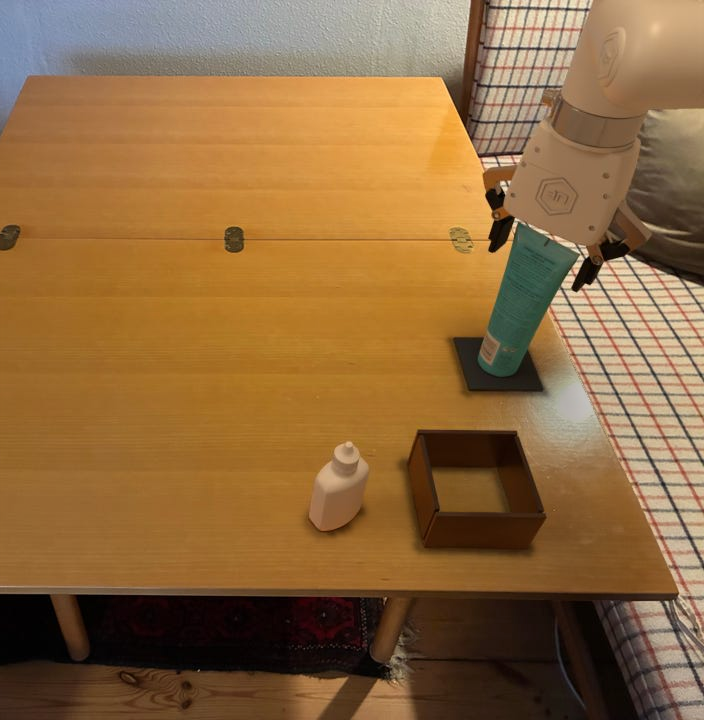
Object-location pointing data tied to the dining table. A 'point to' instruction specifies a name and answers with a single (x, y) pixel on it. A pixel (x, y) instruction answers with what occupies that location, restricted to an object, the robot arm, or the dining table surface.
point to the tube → (523, 298)
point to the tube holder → (475, 526)
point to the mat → (485, 381)
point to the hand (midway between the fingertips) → (536, 265)
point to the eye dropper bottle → (339, 488)
